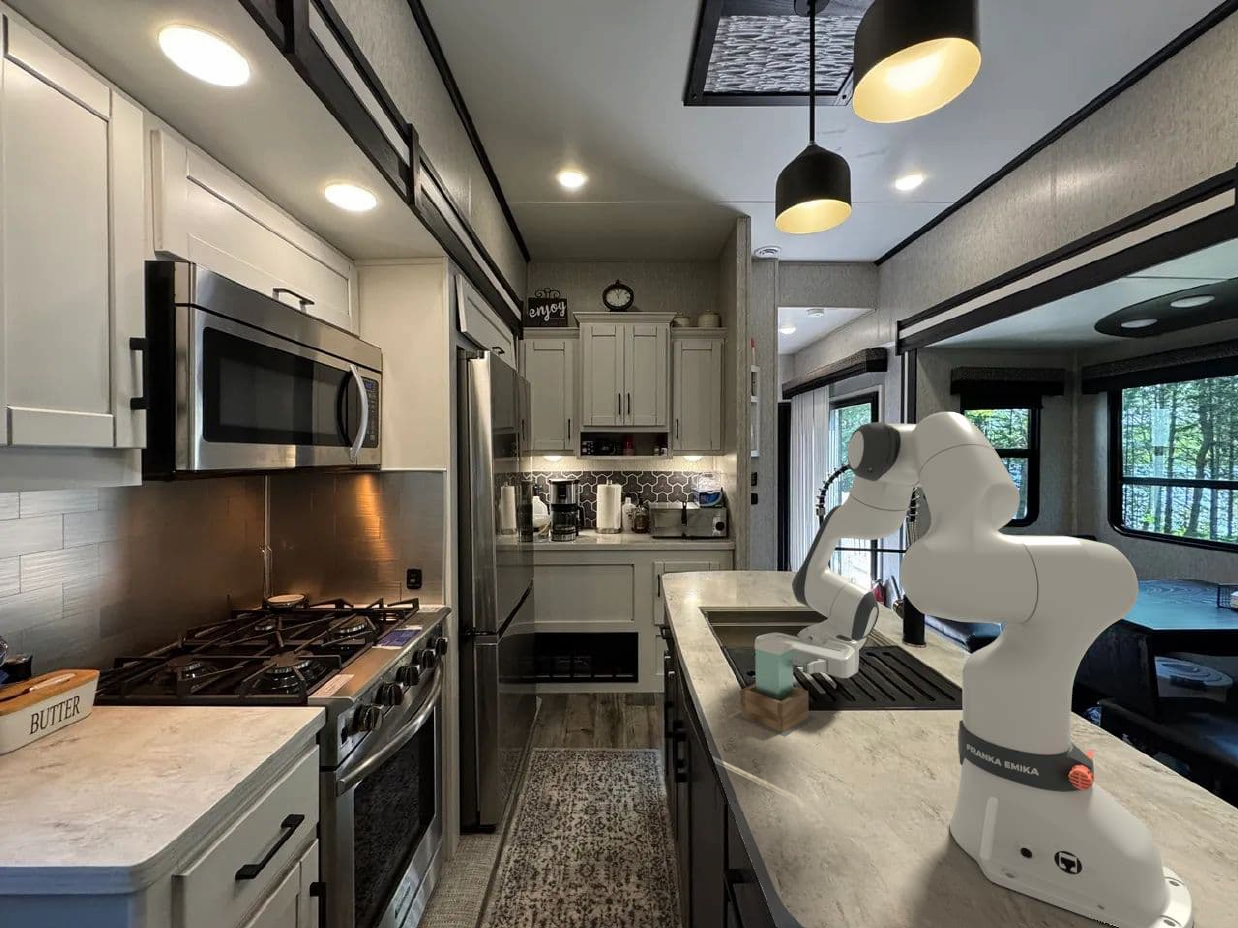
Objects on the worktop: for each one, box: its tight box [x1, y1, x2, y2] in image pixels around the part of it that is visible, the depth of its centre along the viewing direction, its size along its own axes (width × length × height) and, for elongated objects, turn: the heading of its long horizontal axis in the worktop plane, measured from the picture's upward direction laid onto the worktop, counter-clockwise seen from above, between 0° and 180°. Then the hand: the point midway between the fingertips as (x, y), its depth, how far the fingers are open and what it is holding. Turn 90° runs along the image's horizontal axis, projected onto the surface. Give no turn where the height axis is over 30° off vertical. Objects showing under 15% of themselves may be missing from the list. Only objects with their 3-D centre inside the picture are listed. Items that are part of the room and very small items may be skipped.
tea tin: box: [754, 639, 794, 701], centre depth 105 cm, size 5×5×12 cm
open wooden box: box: [740, 682, 810, 732], centre depth 105 cm, size 9×9×5 cm
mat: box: [733, 712, 817, 737], centre depth 105 cm, size 11×11×1 cm
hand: (783, 662), depth 107 cm, fingers open, 8 cm apart
